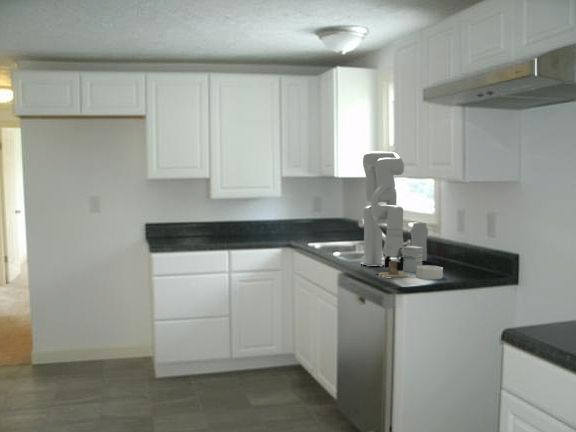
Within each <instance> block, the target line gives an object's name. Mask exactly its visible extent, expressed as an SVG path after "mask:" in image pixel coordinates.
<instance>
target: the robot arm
mask: <svg viewBox="0 0 576 432" xmlns="http://www.w3.org/2000/svg"><path fill="white" fill-rule="evenodd" d="M362 164H363V170H364V173H365V198H366V201H367V202H368V203H370V205H368V206H365V207H364V208H363V210H362V218H363V227H364V228H363V256H361V257H360V259H361V260H362V261H360V265H361V264H365V265H377V266H380V265H384V268H385V269H386V268H388V269H389V261H392V259H391V258H396V261H397V271H398V272H402V271H403V262H404V260H405V257H406V253H405V252H404V247H405V246H404V243H405V242H404V207H402V206H399V205H398V204H397V199H398V198H397V189H396V188H395V187H396V183H395V176H401V175H403V174H404V172H405V163H404V160H403V159H402V158H401V157H400V155H398V153H396V152H394V151H393V152H392V151H369V152H366V153H365V154H364V155H363V157H362ZM381 224H382V225H386V235H385V237H384V244H383V230H382V229H381V227H380V226H379V225H381ZM383 245H384V246H383ZM382 255H383V256H382ZM383 258H384V262H383V261H382V259H383ZM380 267H381V266H380Z"/></svg>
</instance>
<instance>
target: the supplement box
mask: <svg viewBox="0 0 576 432" xmlns="http://www.w3.org/2000/svg"><path fill="white" fill-rule="evenodd" d="M404 252H405V253H406V257H405V260H404V262H403V270H402V271H403V272H409V273H416V270H417V266H423V262H422V257H423V247H417V246H412V245H406V246H404Z"/></svg>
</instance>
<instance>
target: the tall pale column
mask: <svg viewBox="0 0 576 432" xmlns="http://www.w3.org/2000/svg"><path fill="white" fill-rule="evenodd" d="M428 234H429V229H428V227H427V223H426V222H421V221H420V222H414V223H413V224H412V228H410V235H411V246H417V247H423V257H422V261H426V260H427V255H428V247H427V239H428ZM426 262H427V261H426Z"/></svg>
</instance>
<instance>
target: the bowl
mask: <svg viewBox="0 0 576 432" xmlns="http://www.w3.org/2000/svg"><path fill="white" fill-rule="evenodd" d="M443 271H444V267H442V266H437V265H426V264H425V265H422V266H417V270H416V272H415V277H416V278H419V279H423V280H424V279H425V280H441V279H443V274H444V272H443Z"/></svg>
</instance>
